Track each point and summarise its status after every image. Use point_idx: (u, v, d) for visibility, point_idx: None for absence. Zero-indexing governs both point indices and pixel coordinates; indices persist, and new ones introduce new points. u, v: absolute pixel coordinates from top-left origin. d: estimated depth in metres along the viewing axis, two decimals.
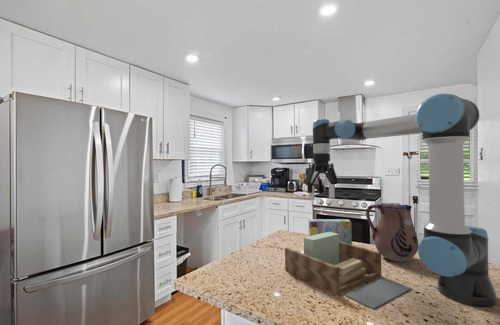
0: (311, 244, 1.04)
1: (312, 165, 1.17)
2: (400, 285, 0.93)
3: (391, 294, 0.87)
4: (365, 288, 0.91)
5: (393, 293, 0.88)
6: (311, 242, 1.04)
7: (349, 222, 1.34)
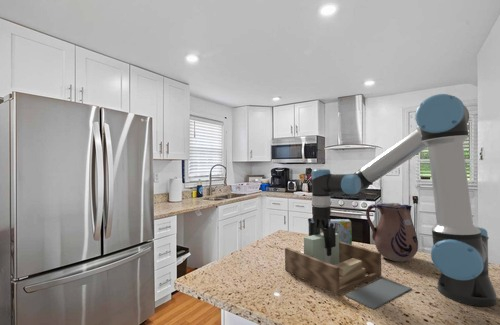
0: (311, 243, 1.04)
1: None
2: (400, 285, 0.93)
3: (391, 294, 0.87)
4: (365, 288, 0.91)
5: (393, 293, 0.88)
6: (311, 242, 1.04)
7: (349, 222, 1.34)
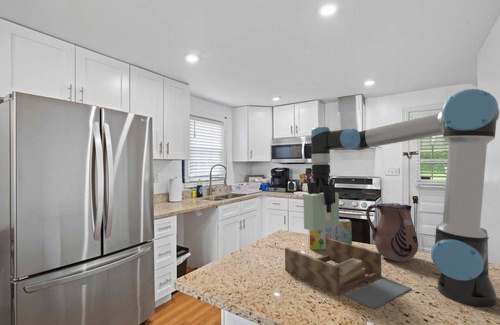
0: (310, 199, 1.05)
1: None
2: (400, 285, 0.93)
3: (391, 294, 0.87)
4: (365, 288, 0.91)
5: (393, 293, 0.88)
6: (311, 198, 1.05)
7: (349, 222, 1.34)
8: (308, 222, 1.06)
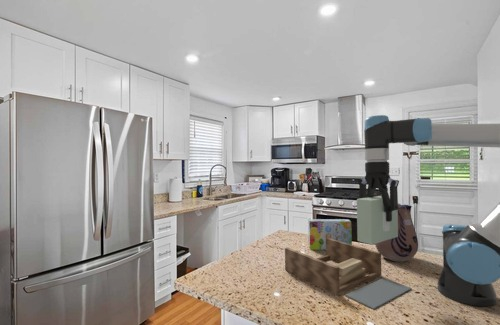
0: (368, 205, 0.84)
1: None
2: (400, 285, 0.93)
3: (391, 294, 0.87)
4: (365, 288, 0.91)
5: (393, 293, 0.88)
6: (368, 203, 0.84)
7: (349, 222, 1.34)
8: (365, 233, 0.85)
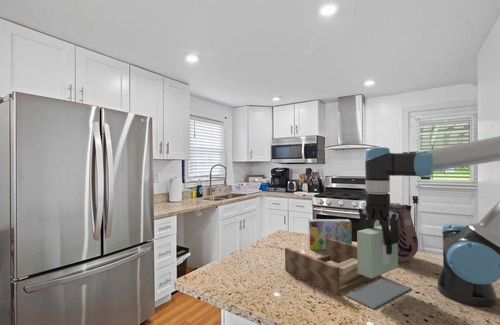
0: (368, 239, 0.84)
1: None
2: (400, 285, 0.93)
3: (391, 294, 0.87)
4: (365, 288, 0.91)
5: (393, 293, 0.88)
6: (369, 237, 0.84)
7: (349, 222, 1.34)
8: (365, 266, 0.85)
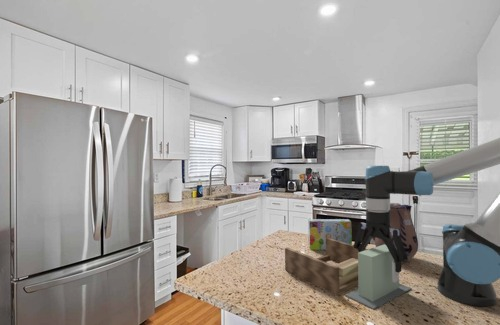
0: (369, 261, 0.84)
1: None
2: (400, 285, 0.93)
3: (391, 294, 0.87)
4: None
5: (393, 293, 0.88)
6: (369, 259, 0.83)
7: (349, 222, 1.34)
8: (366, 288, 0.85)
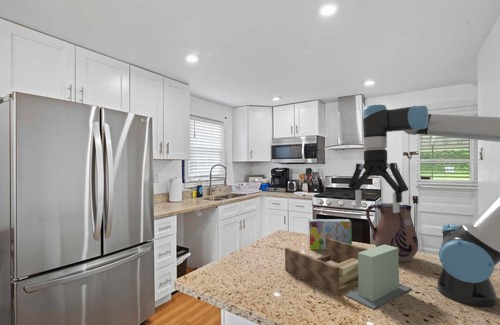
0: (369, 261, 0.84)
1: None
2: (400, 285, 0.93)
3: (391, 294, 0.87)
4: None
5: (393, 293, 0.88)
6: (369, 259, 0.83)
7: (349, 222, 1.34)
8: (366, 288, 0.85)
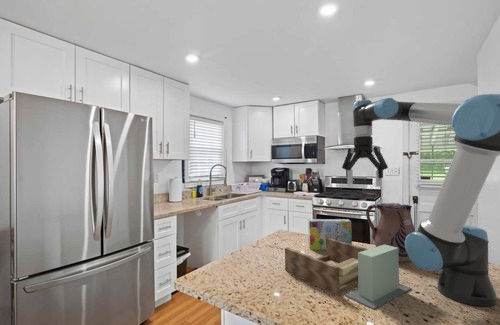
0: (369, 261, 0.84)
1: None
2: (400, 285, 0.93)
3: (391, 294, 0.87)
4: None
5: (393, 293, 0.88)
6: (369, 259, 0.83)
7: (349, 222, 1.34)
8: (366, 288, 0.85)
